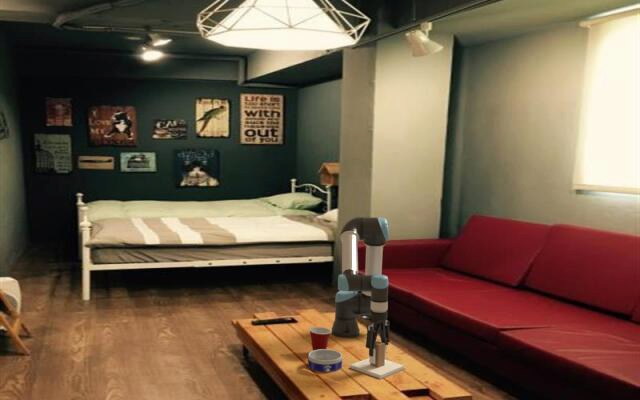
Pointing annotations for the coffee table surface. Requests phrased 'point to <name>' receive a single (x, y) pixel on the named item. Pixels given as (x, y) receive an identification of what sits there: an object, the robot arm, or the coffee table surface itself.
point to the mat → (376, 377)
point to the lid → (378, 364)
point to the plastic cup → (319, 337)
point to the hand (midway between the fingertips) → (377, 360)
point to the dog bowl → (325, 360)
